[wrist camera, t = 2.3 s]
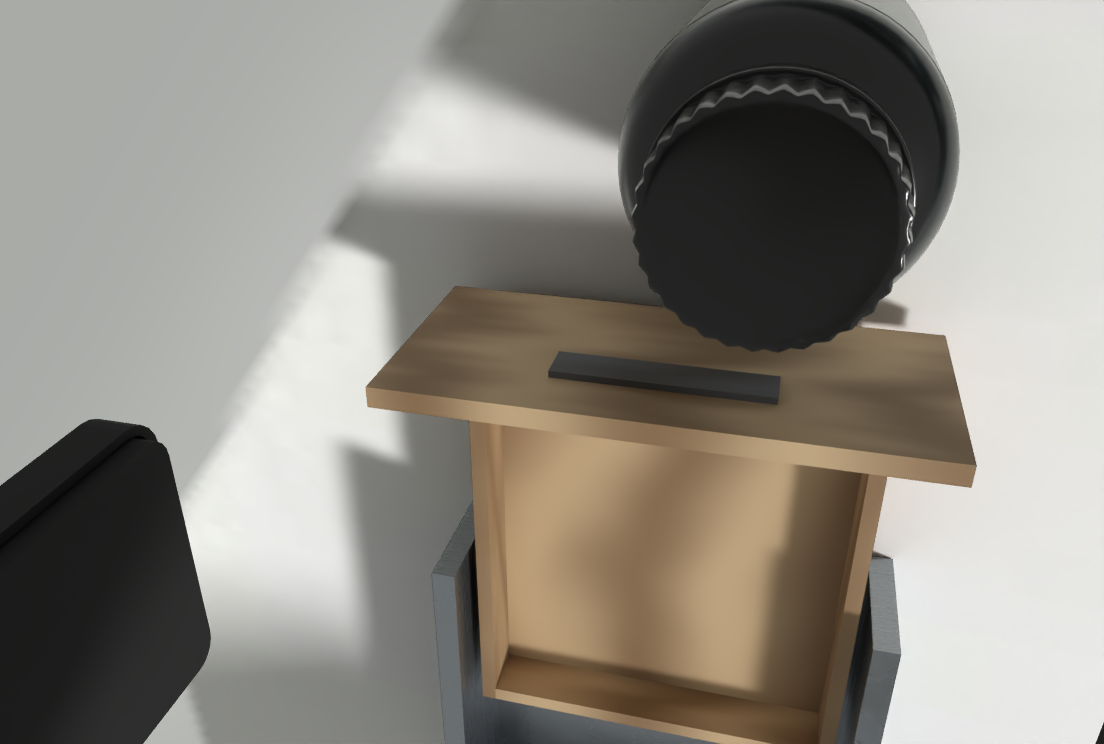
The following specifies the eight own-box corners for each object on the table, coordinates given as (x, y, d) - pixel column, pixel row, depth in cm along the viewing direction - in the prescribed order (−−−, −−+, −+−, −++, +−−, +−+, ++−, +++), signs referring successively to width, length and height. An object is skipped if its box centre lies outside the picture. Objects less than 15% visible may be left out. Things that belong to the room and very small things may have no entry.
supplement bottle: (792, -107, 24) (764, -85, 14) (986, 70, 25) (1093, 213, 15) (625, 102, 28) (504, 242, 18) (799, 252, 29) (781, 470, 18)
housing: (892, 559, 33) (900, 654, 29) (830, 856, 40) (830, 965, 36) (475, 495, 36) (431, 573, 32) (489, 781, 43) (455, 872, 39)
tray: (946, 329, 28) (978, 458, 22) (864, 715, 35) (871, 891, 29) (455, 280, 31) (364, 380, 25) (474, 641, 38) (408, 786, 32)
